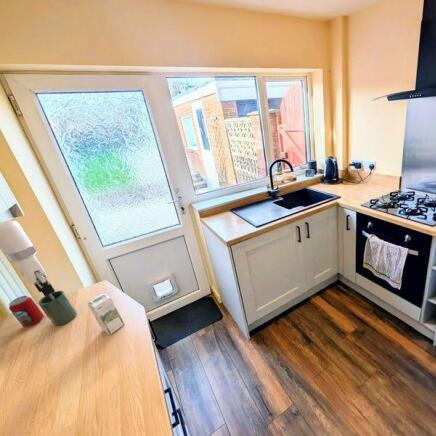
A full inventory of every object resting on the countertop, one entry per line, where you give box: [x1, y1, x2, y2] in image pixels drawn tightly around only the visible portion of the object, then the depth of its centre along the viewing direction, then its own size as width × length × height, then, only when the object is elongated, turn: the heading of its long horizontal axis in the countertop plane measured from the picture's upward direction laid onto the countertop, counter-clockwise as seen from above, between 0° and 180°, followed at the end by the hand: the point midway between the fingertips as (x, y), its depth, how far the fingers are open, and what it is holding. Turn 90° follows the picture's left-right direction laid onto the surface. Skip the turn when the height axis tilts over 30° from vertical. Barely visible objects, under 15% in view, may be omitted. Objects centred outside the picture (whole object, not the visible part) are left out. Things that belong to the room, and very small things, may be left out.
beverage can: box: [8, 295, 44, 328], centre depth 102 cm, size 7×7×12 cm
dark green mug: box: [37, 290, 78, 327], centre depth 101 cm, size 8×8×12 cm
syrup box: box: [87, 293, 125, 336], centre depth 94 cm, size 6×6×14 cm
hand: (47, 291), depth 98 cm, fingers open, 4 cm apart
